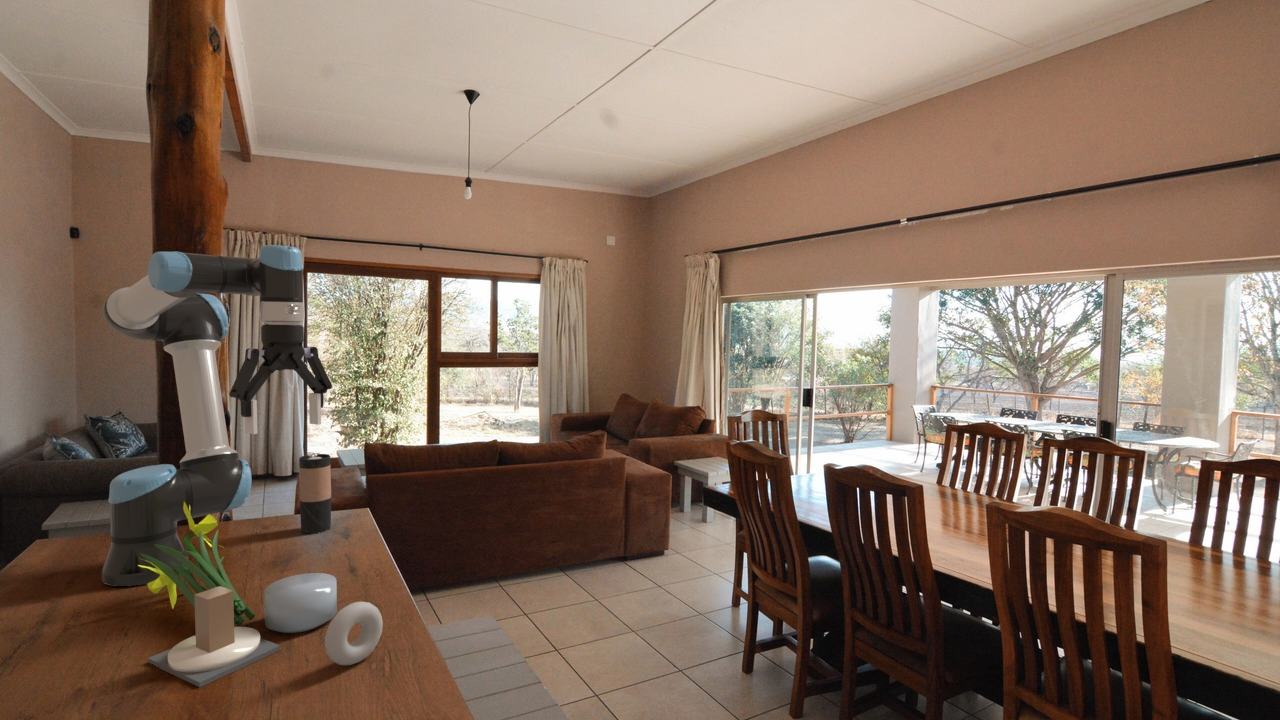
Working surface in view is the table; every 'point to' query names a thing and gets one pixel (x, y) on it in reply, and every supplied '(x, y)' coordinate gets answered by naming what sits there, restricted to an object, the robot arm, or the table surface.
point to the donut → (342, 625)
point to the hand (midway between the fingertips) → (284, 428)
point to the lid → (213, 636)
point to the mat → (212, 675)
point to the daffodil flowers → (195, 568)
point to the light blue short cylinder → (300, 602)
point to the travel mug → (315, 493)
